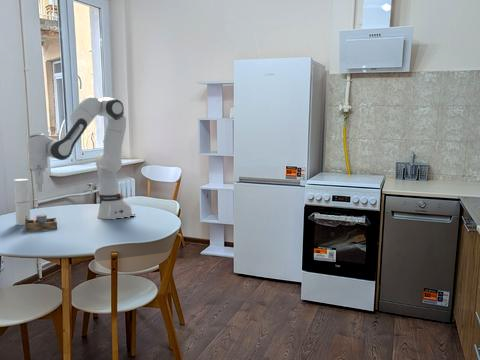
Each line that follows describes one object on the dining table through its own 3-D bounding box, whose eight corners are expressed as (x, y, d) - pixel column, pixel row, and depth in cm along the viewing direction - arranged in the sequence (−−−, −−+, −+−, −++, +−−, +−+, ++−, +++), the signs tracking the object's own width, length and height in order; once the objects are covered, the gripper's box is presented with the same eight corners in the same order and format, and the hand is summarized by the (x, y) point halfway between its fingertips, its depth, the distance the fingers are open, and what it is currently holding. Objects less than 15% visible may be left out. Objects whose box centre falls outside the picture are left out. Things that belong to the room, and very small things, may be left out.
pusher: (36, 225, 222) (35, 217, 221) (36, 229, 216) (35, 220, 215) (33, 226, 222) (33, 217, 221) (33, 229, 215) (33, 220, 214)
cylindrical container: (24, 225, 225) (22, 180, 222) (13, 224, 227) (10, 180, 223) (33, 222, 232) (31, 179, 229) (22, 221, 233) (20, 178, 230)
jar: (47, 225, 224) (46, 214, 223) (47, 227, 219) (46, 216, 218) (36, 226, 221) (36, 214, 220) (36, 228, 217) (36, 216, 216)
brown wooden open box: (56, 224, 228) (55, 213, 227) (57, 229, 219) (56, 217, 218) (26, 227, 221) (25, 215, 220) (25, 232, 212) (25, 219, 211)
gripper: (45, 166, 207) (46, 193, 209) (44, 162, 225) (45, 187, 227) (31, 166, 205) (33, 193, 207) (31, 162, 223) (33, 187, 225)
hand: (39, 190), depth 217 cm, fingers open, 8 cm apart
